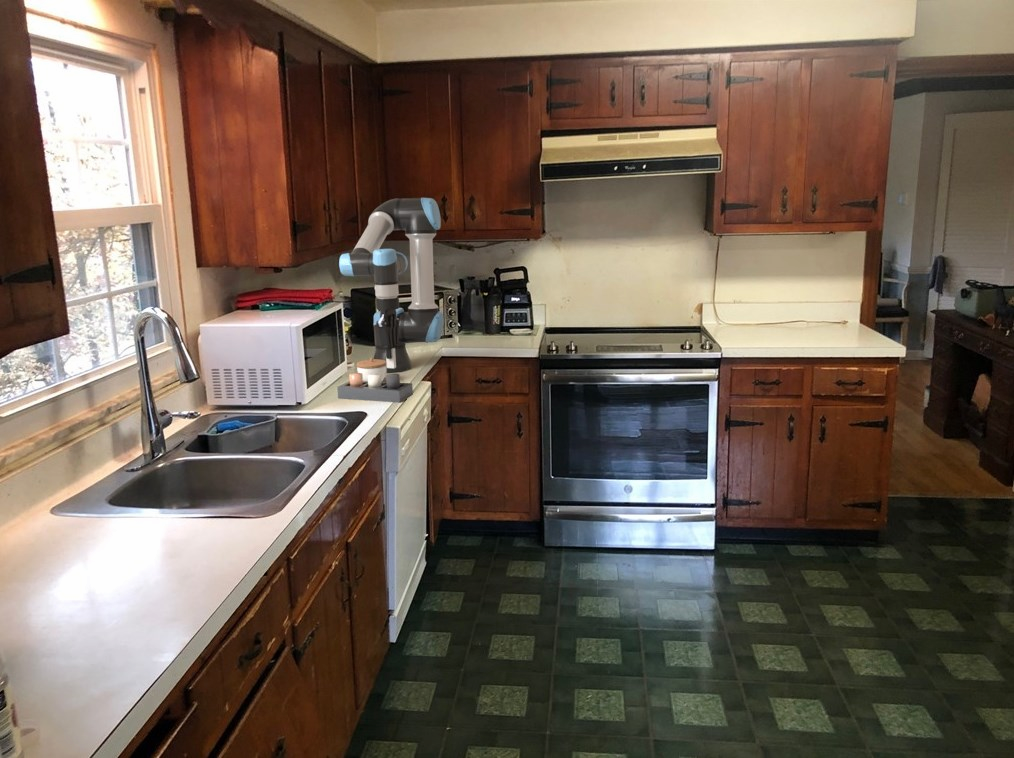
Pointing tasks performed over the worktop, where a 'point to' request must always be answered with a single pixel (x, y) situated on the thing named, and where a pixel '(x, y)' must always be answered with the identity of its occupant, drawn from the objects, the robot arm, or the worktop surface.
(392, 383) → the grey cup
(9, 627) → the worktop surface
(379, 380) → the cream cup
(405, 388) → the dark grey tray
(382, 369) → the lidded jar
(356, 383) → the pink rounded cylinder
